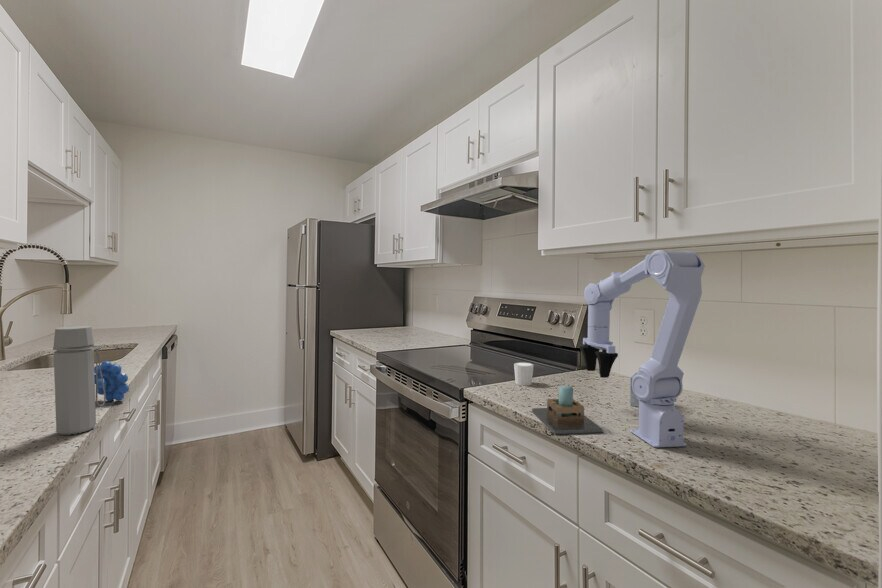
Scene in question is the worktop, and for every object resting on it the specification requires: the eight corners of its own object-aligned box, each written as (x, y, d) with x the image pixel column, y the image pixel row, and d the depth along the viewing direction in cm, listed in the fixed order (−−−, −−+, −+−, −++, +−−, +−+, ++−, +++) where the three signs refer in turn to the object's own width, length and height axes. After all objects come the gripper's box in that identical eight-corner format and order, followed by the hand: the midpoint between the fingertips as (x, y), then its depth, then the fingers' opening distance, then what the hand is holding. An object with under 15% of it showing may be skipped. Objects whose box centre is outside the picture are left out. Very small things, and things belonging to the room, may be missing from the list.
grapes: (78, 404, 114) (77, 363, 114) (101, 397, 121) (100, 358, 120) (114, 406, 113) (113, 365, 112) (135, 399, 119) (134, 360, 119)
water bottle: (59, 439, 90) (55, 330, 89) (52, 431, 95) (48, 327, 93) (110, 427, 97) (107, 326, 96) (102, 420, 102) (99, 324, 101)
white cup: (522, 380, 145) (522, 361, 145) (537, 384, 140) (537, 364, 139) (509, 383, 140) (510, 363, 140) (525, 387, 135) (525, 367, 135)
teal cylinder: (574, 418, 103) (575, 387, 103) (567, 421, 101) (568, 389, 100) (563, 414, 105) (563, 385, 105) (555, 417, 103) (556, 387, 103)
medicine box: (646, 409, 114) (647, 379, 113) (629, 405, 116) (630, 376, 116) (651, 402, 120) (651, 374, 120) (635, 399, 123) (635, 371, 122)
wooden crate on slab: (602, 432, 96) (602, 411, 96) (554, 434, 95) (555, 413, 94) (573, 410, 112) (573, 392, 112) (532, 411, 110) (532, 393, 110)
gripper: (626, 329, 105) (625, 380, 105) (598, 323, 119) (597, 367, 120) (601, 329, 104) (600, 380, 105) (576, 323, 118) (575, 368, 119)
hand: (597, 373), depth 112 cm, fingers open, 7 cm apart
